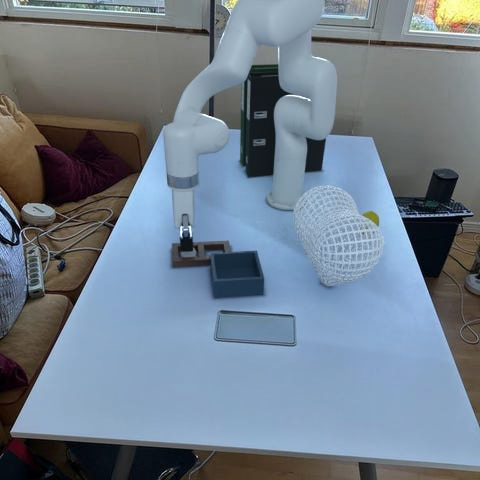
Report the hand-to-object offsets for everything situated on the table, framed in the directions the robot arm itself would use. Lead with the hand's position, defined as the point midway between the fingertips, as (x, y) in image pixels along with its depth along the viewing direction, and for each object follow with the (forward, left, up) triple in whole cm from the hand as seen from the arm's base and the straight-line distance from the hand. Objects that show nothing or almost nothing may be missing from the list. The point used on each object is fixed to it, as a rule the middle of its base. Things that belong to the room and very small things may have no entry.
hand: (186, 240), depth 122 cm
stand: (0, +4, -5) cm, 7 cm away
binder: (-55, +36, -6) cm, 66 cm away
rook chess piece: (0, 0, -6) cm, 6 cm away
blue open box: (+12, +12, -5) cm, 17 cm away
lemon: (-6, +52, -6) cm, 53 cm away
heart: (+15, +35, -6) cm, 38 cm away
